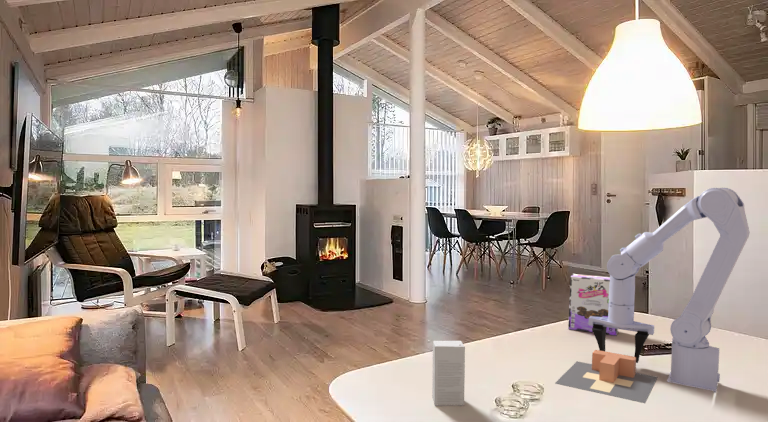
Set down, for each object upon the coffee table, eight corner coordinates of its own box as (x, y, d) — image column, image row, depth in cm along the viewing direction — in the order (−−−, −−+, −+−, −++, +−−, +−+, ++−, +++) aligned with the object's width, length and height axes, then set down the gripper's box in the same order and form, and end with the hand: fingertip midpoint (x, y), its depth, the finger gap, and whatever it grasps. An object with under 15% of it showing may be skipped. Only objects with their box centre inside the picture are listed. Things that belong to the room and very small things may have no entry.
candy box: (567, 329, 165) (569, 275, 164) (570, 325, 170) (572, 272, 169) (616, 336, 158) (619, 280, 157) (618, 331, 164) (620, 277, 163)
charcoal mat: (657, 379, 124) (657, 376, 124) (644, 405, 109) (644, 403, 109) (576, 363, 134) (576, 361, 134) (554, 385, 119) (554, 383, 119)
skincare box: (460, 397, 112) (462, 340, 111) (464, 406, 107) (465, 346, 107) (431, 397, 111) (432, 340, 111) (433, 406, 107) (435, 346, 106)
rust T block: (635, 374, 125) (636, 357, 125) (628, 385, 118) (628, 367, 118) (594, 366, 130) (595, 349, 130) (585, 376, 123) (586, 359, 123)
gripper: (657, 304, 130) (654, 360, 131) (594, 296, 139) (592, 348, 139) (652, 310, 125) (650, 368, 125) (587, 301, 133) (585, 356, 134)
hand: (619, 358), depth 132 cm, fingers open, 7 cm apart
